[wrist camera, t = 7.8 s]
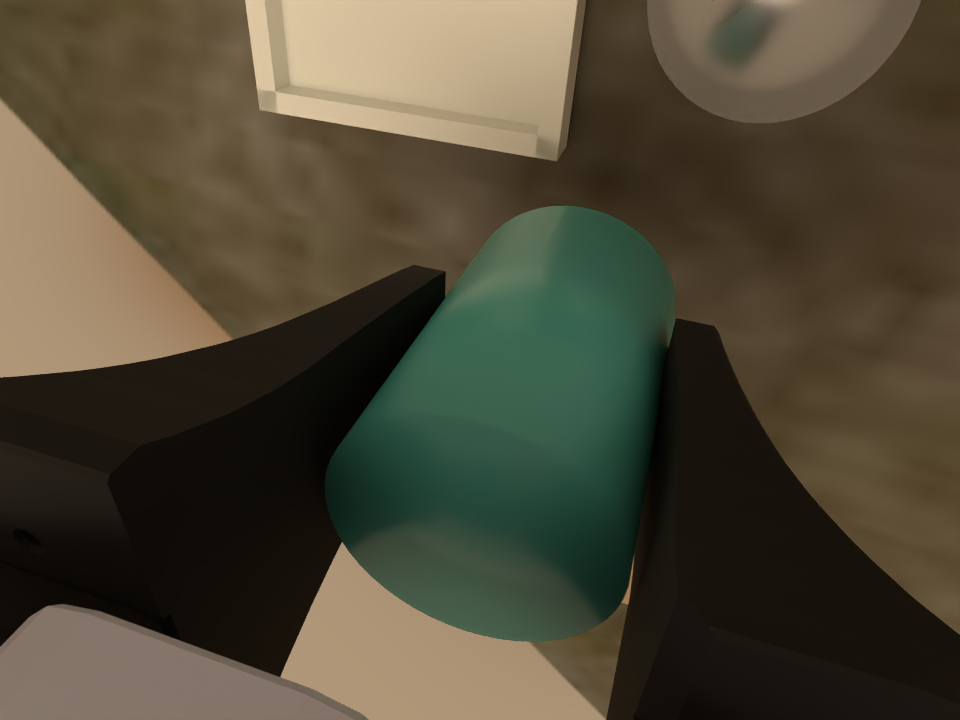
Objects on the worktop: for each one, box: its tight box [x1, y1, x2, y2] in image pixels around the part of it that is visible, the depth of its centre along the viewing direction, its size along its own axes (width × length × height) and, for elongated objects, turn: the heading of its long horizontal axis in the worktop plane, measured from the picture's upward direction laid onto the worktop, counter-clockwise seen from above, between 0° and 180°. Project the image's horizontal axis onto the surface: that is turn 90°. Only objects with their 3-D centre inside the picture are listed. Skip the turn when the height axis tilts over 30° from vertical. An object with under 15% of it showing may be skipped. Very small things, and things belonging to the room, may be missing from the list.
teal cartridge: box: [325, 206, 676, 642], centre depth 11 cm, size 4×4×6 cm
